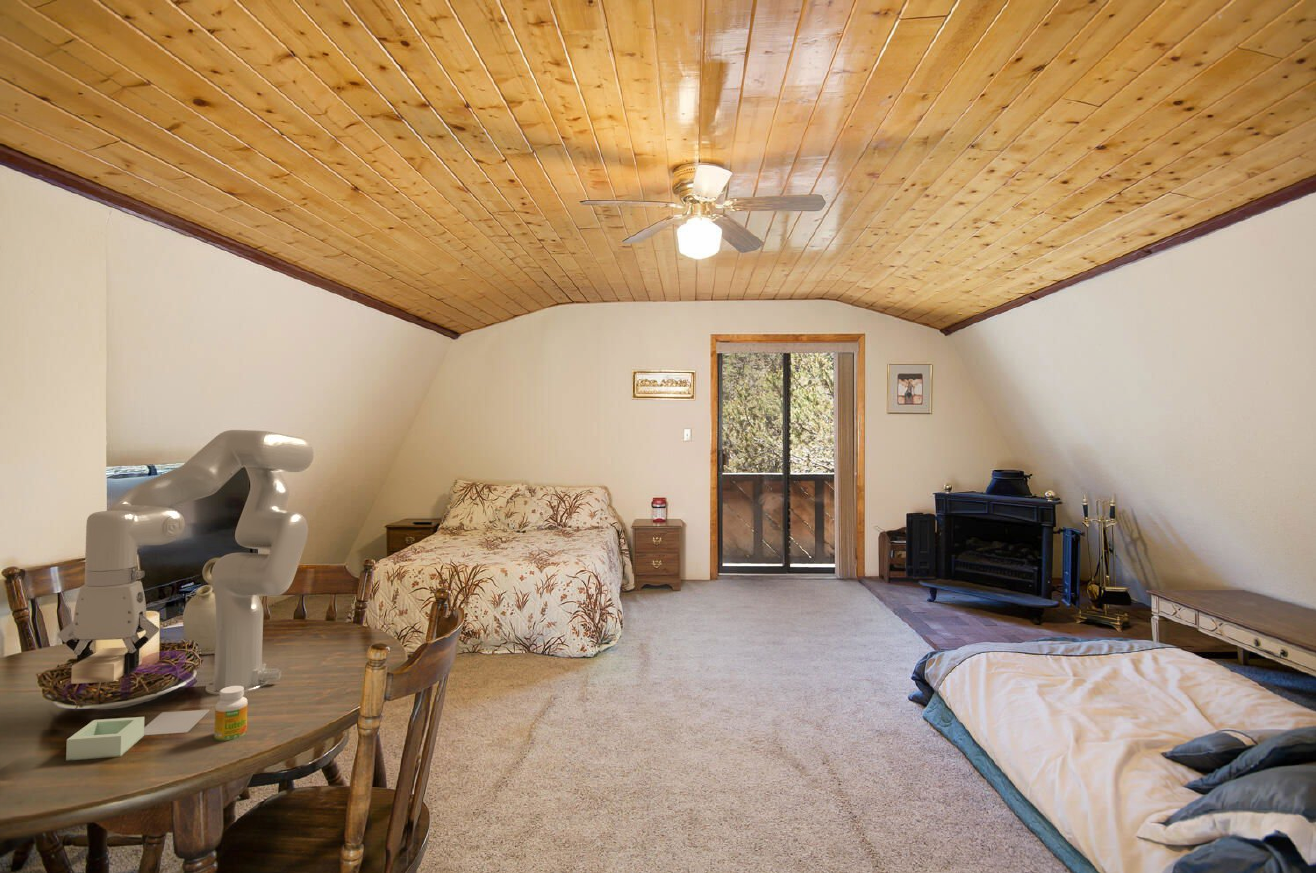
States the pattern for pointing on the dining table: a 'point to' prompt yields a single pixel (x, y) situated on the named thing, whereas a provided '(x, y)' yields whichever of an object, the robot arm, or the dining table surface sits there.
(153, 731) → the mat
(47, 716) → the dining table surface
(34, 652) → the dining table surface
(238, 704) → the supplement bottle
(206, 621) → the jug
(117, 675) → the wooden block
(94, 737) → the sage green tray
